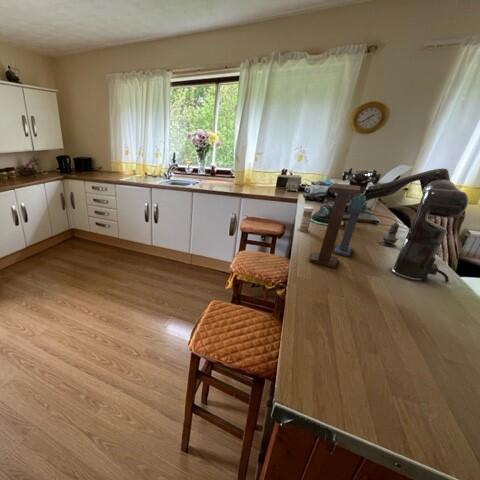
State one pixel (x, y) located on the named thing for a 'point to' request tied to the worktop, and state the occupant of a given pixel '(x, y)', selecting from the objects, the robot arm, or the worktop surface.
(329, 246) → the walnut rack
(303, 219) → the sprinkles bottle
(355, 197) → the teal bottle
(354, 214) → the blue grey stand
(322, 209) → the dark green shoe
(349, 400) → the worktop surface
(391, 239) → the dark grey figurine
